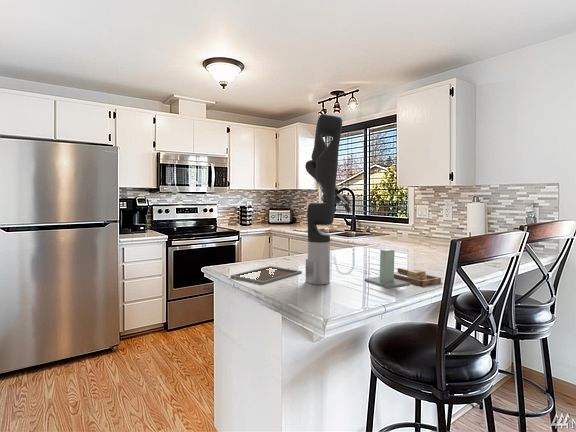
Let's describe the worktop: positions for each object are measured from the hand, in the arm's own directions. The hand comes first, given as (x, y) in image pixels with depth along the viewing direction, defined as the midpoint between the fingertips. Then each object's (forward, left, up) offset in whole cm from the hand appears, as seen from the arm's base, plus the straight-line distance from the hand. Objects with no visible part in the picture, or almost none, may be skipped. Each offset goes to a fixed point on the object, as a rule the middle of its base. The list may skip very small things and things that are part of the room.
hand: (342, 211), depth 169 cm
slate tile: (+3, -27, -29) cm, 39 cm away
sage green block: (+3, -27, -28) cm, 39 cm away
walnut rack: (+17, -26, -29) cm, 42 cm away
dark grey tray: (-34, +9, -29) cm, 46 cm away
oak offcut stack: (+17, -31, -29) cm, 45 cm away
